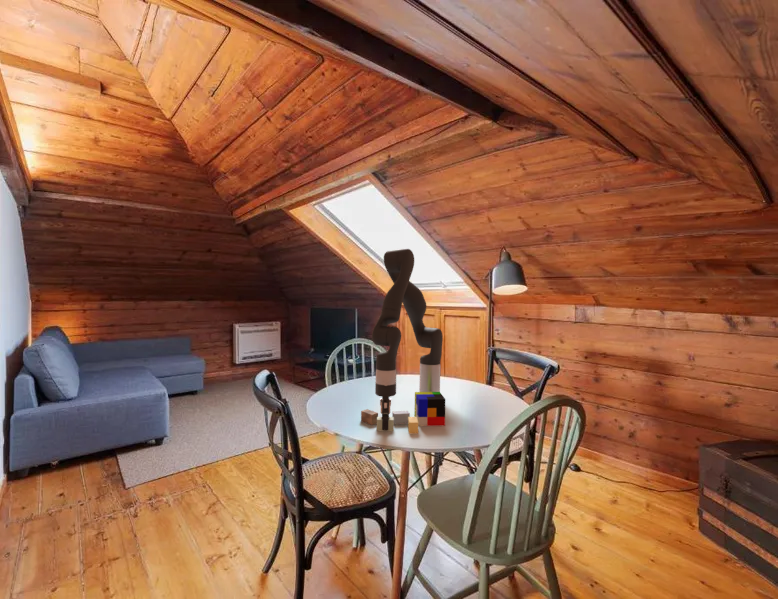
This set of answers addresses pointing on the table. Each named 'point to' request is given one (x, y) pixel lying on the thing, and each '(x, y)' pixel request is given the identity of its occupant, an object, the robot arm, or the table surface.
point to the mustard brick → (412, 425)
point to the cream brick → (390, 424)
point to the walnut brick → (369, 417)
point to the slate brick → (400, 417)
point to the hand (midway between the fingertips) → (385, 425)
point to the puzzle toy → (429, 408)
